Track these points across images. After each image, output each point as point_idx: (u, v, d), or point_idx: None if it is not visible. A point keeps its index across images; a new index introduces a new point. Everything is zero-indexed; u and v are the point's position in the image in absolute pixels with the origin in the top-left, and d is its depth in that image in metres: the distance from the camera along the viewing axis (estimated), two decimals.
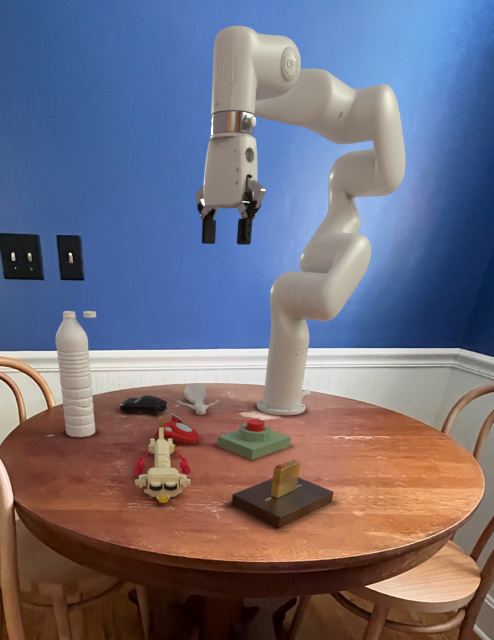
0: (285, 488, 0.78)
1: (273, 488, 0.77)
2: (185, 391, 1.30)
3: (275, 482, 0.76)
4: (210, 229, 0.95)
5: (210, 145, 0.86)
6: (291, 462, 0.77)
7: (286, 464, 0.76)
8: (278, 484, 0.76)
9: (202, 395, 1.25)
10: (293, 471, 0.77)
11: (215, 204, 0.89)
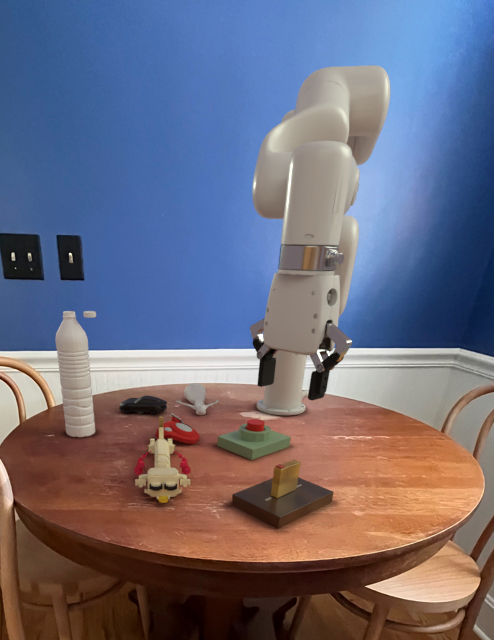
0: (285, 488, 0.78)
1: (273, 488, 0.77)
2: (185, 391, 1.30)
3: (275, 482, 0.76)
4: (269, 370, 0.74)
5: (277, 279, 0.66)
6: (291, 462, 0.77)
7: (286, 464, 0.76)
8: (278, 484, 0.76)
9: (202, 395, 1.25)
10: (293, 471, 0.77)
11: (279, 347, 0.69)
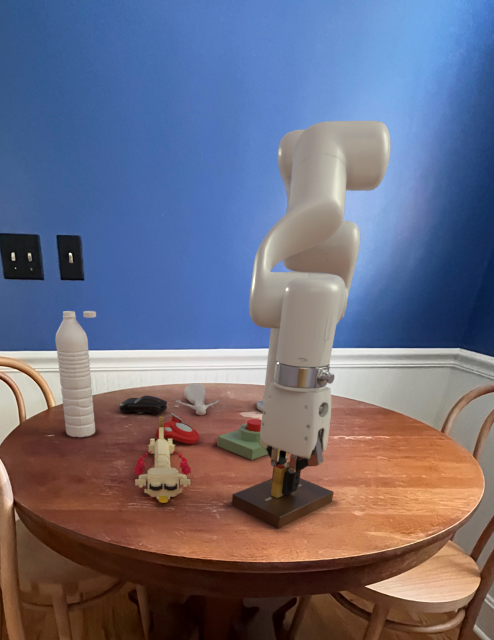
0: None
1: (273, 488, 0.77)
2: (185, 391, 1.30)
3: (275, 482, 0.76)
4: None
5: (273, 388, 0.71)
6: None
7: (286, 464, 0.76)
8: (278, 484, 0.76)
9: (202, 395, 1.25)
10: None
11: (275, 446, 0.74)
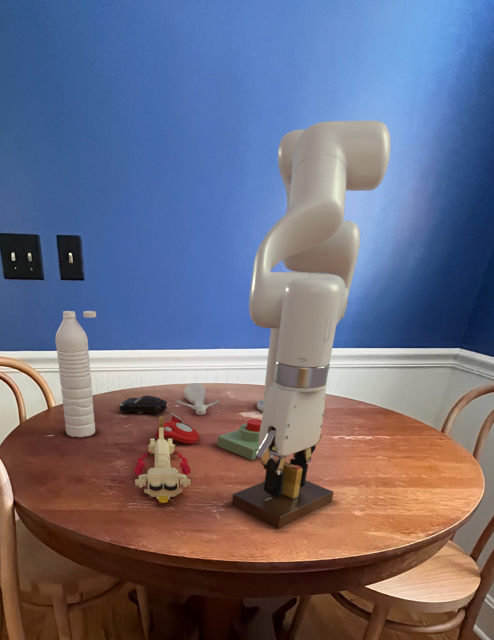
0: None
1: (295, 490, 0.77)
2: (185, 391, 1.30)
3: (297, 484, 0.76)
4: None
5: (297, 396, 0.67)
6: None
7: (288, 464, 0.76)
8: None
9: (202, 395, 1.25)
10: None
11: (295, 452, 0.73)
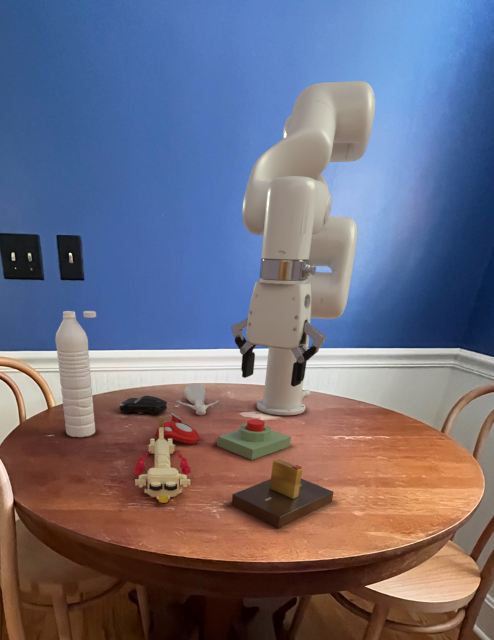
0: None
1: (295, 490, 0.77)
2: (185, 391, 1.30)
3: (297, 484, 0.76)
4: (250, 363, 0.87)
5: (259, 286, 0.78)
6: (281, 462, 0.77)
7: (288, 464, 0.76)
8: None
9: (202, 395, 1.25)
10: None
11: (263, 344, 0.82)
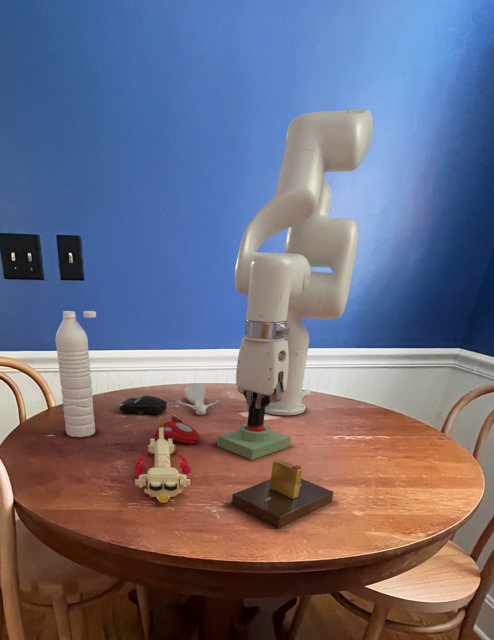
0: None
1: (295, 490, 0.77)
2: (185, 391, 1.30)
3: (297, 484, 0.76)
4: None
5: (244, 341, 0.92)
6: (281, 462, 0.77)
7: (288, 464, 0.76)
8: None
9: (202, 395, 1.25)
10: None
11: (247, 388, 0.96)
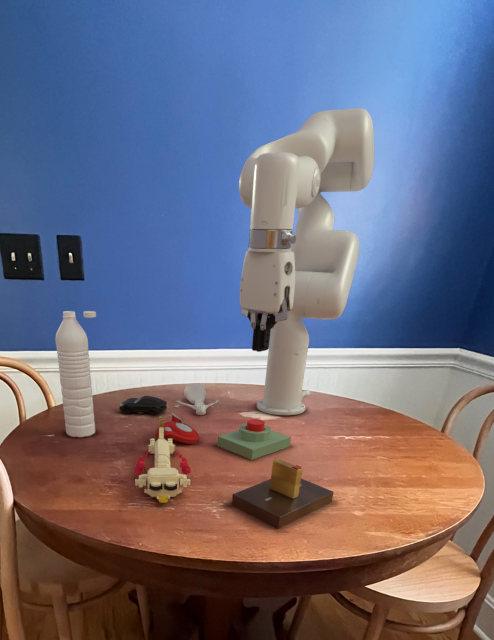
0: None
1: (295, 490, 0.77)
2: (185, 391, 1.30)
3: (297, 484, 0.76)
4: None
5: (248, 255, 0.87)
6: (281, 462, 0.77)
7: (288, 464, 0.76)
8: None
9: (202, 395, 1.25)
10: None
11: (251, 308, 0.91)
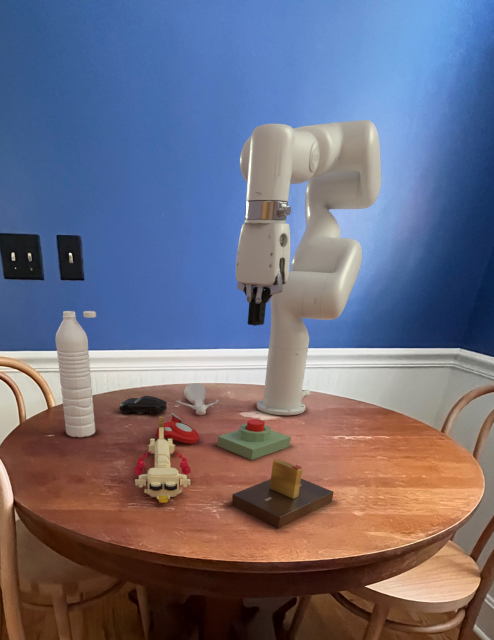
0: None
1: (295, 490, 0.77)
2: (185, 391, 1.30)
3: (297, 484, 0.76)
4: None
5: (244, 228, 0.88)
6: (281, 462, 0.77)
7: (288, 464, 0.76)
8: None
9: (202, 395, 1.25)
10: None
11: (247, 282, 0.92)
